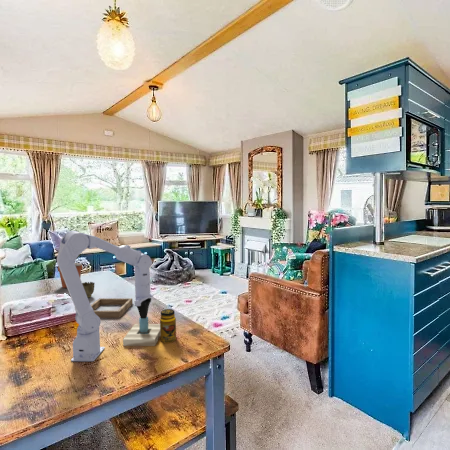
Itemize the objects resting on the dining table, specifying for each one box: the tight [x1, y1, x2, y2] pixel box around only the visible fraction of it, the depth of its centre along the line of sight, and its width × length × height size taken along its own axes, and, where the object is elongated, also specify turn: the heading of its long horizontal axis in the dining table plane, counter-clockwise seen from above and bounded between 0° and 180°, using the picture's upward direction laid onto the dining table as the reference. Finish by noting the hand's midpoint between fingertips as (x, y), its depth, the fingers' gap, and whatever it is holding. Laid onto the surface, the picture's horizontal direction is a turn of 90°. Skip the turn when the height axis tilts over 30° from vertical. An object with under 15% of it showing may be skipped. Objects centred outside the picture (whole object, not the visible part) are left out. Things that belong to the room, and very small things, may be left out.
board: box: [122, 323, 160, 347], centre depth 123 cm, size 14×12×2 cm
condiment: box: [159, 308, 177, 344], centre depth 121 cm, size 7×8×12 cm
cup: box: [82, 281, 96, 299], centre depth 172 cm, size 8×7×8 cm
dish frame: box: [90, 297, 134, 319], centre depth 152 cm, size 18×17×3 cm
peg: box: [138, 316, 149, 334], centre depth 122 cm, size 4×4×8 cm
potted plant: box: [57, 252, 83, 289], centre depth 195 cm, size 16×15×35 cm
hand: (143, 317), depth 122 cm, fingers closed
